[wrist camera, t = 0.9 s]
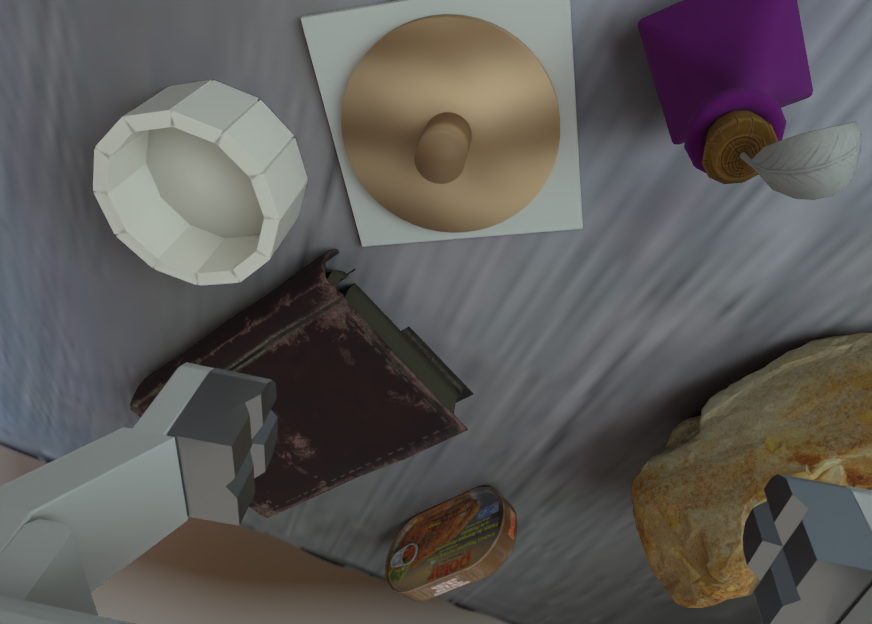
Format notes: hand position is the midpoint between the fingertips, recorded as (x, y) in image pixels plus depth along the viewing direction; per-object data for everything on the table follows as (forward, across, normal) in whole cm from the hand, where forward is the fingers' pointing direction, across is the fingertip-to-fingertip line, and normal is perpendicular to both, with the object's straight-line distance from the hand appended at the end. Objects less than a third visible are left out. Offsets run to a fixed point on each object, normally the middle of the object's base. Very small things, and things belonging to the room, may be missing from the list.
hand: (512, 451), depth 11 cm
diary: (+36, +15, +33) cm, 51 cm away
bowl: (+35, +21, +13) cm, 42 cm away
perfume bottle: (+35, -10, 0) cm, 36 cm away
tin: (+36, 0, +46) cm, 58 cm away
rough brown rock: (+36, -25, +27) cm, 51 cm away
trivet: (+35, +5, +7) cm, 36 cm away
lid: (+34, +5, +7) cm, 35 cm away
